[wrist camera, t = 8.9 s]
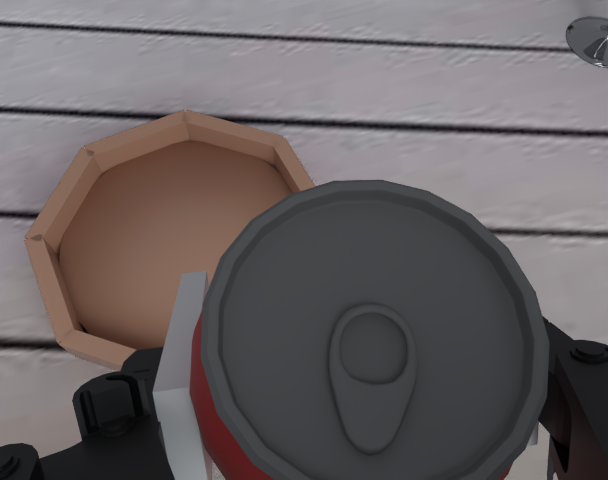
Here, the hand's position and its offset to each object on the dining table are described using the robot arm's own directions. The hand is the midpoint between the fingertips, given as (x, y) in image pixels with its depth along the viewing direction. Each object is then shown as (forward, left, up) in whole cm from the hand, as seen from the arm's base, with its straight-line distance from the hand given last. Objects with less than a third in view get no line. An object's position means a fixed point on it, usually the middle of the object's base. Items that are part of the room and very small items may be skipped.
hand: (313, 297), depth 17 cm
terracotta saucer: (+2, -14, -20) cm, 25 cm away
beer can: (+1, +3, -4) cm, 6 cm away
